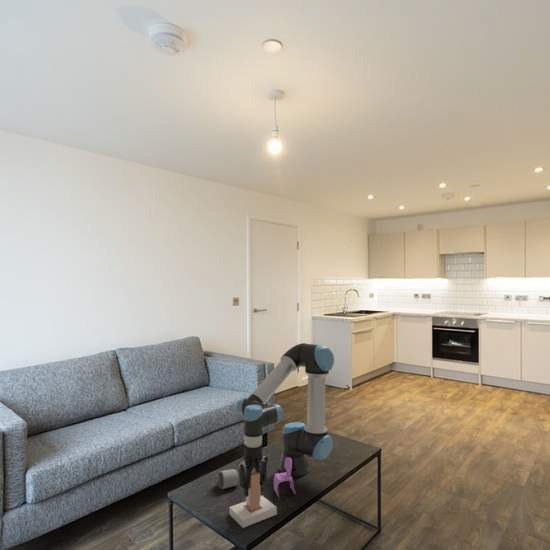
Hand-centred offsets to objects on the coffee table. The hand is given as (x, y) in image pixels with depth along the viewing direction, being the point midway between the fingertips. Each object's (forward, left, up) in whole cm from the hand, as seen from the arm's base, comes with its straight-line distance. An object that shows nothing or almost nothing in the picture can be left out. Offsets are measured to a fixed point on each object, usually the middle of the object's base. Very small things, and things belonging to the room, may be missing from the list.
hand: (253, 501), depth 163 cm
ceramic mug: (-2, -27, -6) cm, 28 cm away
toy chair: (-21, -7, -6) cm, 23 cm away
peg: (0, 0, -4) cm, 4 cm away
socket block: (0, 0, -5) cm, 5 cm away
